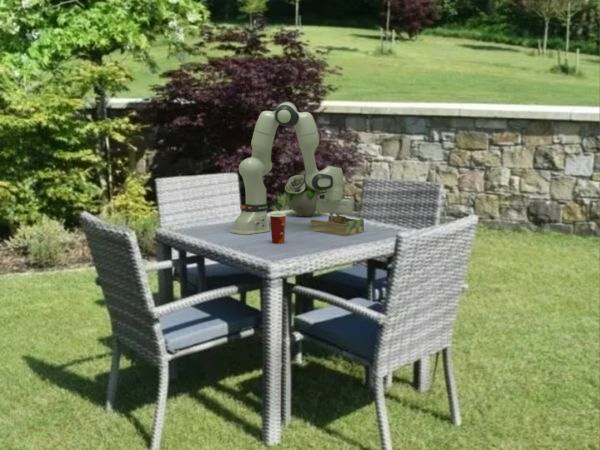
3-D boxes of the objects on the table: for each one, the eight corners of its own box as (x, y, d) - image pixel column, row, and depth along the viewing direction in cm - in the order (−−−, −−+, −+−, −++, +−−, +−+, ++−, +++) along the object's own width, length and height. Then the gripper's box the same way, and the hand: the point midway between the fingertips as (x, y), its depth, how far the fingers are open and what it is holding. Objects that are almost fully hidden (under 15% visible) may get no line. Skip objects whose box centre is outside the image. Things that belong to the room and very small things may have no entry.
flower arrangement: (277, 217, 442) (277, 175, 437) (293, 210, 465) (293, 171, 460) (317, 220, 433) (318, 177, 429) (331, 213, 456) (332, 172, 452)
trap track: (345, 236, 388) (345, 222, 387) (310, 230, 403) (310, 217, 402) (363, 231, 400) (363, 218, 399) (329, 226, 415) (329, 213, 414)
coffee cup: (287, 243, 370) (286, 213, 368) (270, 244, 370) (269, 213, 367) (285, 240, 379) (285, 210, 376) (269, 240, 378) (269, 211, 375)
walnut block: (339, 226, 400) (339, 217, 399) (334, 224, 403) (334, 216, 402) (345, 225, 403) (345, 216, 402) (340, 223, 406) (340, 215, 405)
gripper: (355, 195, 403) (354, 221, 405) (319, 194, 410) (319, 219, 413) (351, 197, 397) (350, 223, 399) (314, 195, 405) (314, 221, 407)
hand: (334, 221), depth 406 cm, fingers closed
